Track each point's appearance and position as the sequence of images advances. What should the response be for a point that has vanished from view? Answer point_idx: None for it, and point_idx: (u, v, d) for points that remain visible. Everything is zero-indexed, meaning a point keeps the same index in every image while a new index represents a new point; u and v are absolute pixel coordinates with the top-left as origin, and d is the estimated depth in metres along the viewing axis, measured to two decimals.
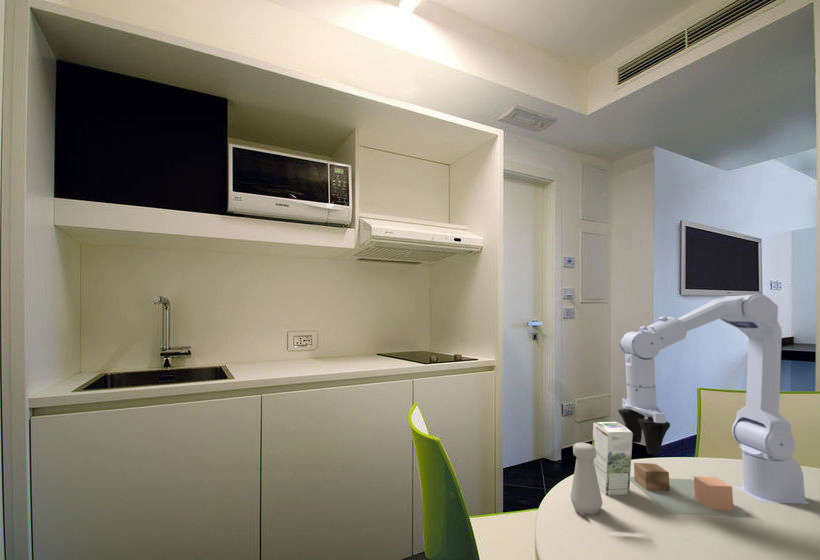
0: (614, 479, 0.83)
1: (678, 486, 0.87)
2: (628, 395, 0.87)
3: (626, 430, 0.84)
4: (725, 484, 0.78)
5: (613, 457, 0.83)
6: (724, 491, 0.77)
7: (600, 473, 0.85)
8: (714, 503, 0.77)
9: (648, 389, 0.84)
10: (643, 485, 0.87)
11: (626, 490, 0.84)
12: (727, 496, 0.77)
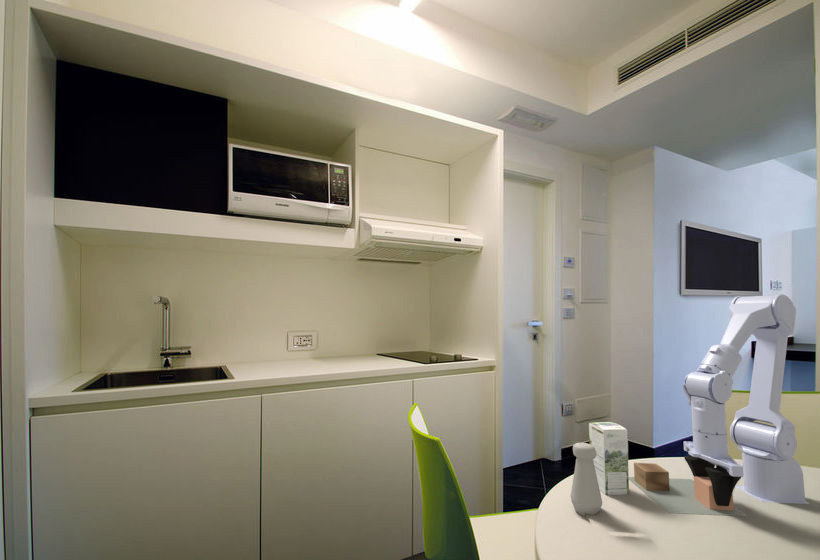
0: (612, 478, 0.84)
1: (678, 486, 0.87)
2: (695, 441, 0.81)
3: (621, 427, 0.86)
4: None
5: (610, 455, 0.84)
6: None
7: (599, 473, 0.85)
8: (714, 503, 0.77)
9: (720, 437, 0.78)
10: (643, 485, 0.87)
11: (625, 490, 0.84)
12: None
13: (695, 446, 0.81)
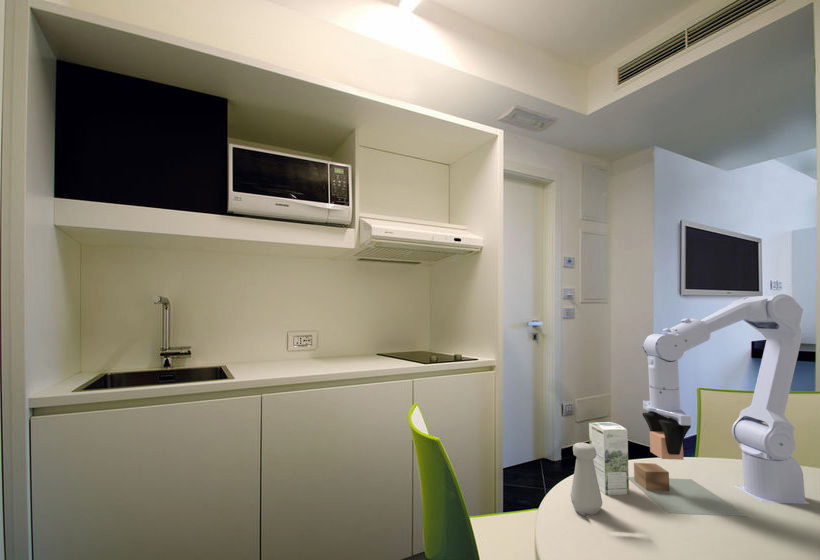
0: (612, 478, 0.84)
1: (678, 486, 0.87)
2: (651, 397, 0.87)
3: (621, 427, 0.86)
4: None
5: (610, 455, 0.84)
6: None
7: (599, 473, 0.85)
8: (666, 453, 0.84)
9: (672, 391, 0.84)
10: (643, 485, 0.87)
11: (625, 490, 0.84)
12: None
13: (651, 402, 0.87)
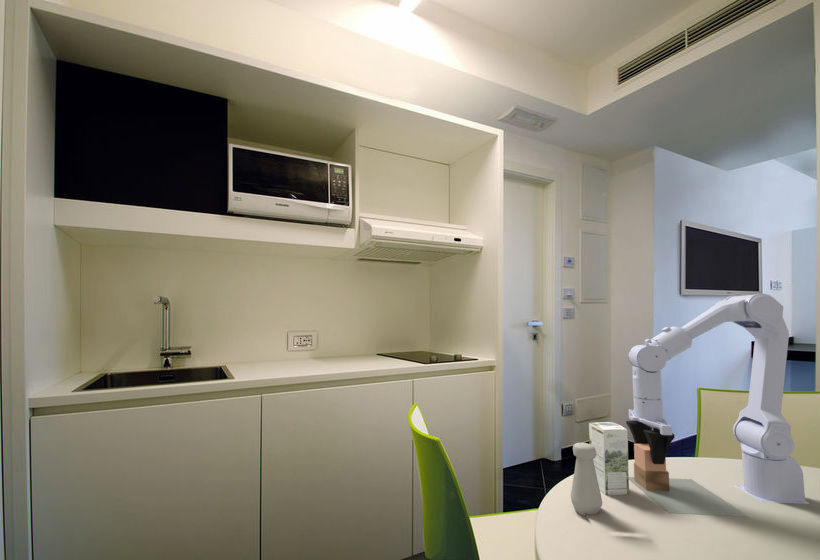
0: (612, 478, 0.84)
1: (678, 486, 0.87)
2: (635, 406, 0.90)
3: (621, 427, 0.86)
4: None
5: (610, 455, 0.84)
6: None
7: (599, 473, 0.85)
8: (649, 465, 0.86)
9: (655, 401, 0.87)
10: (643, 485, 0.87)
11: (625, 490, 0.84)
12: None
13: (635, 411, 0.90)
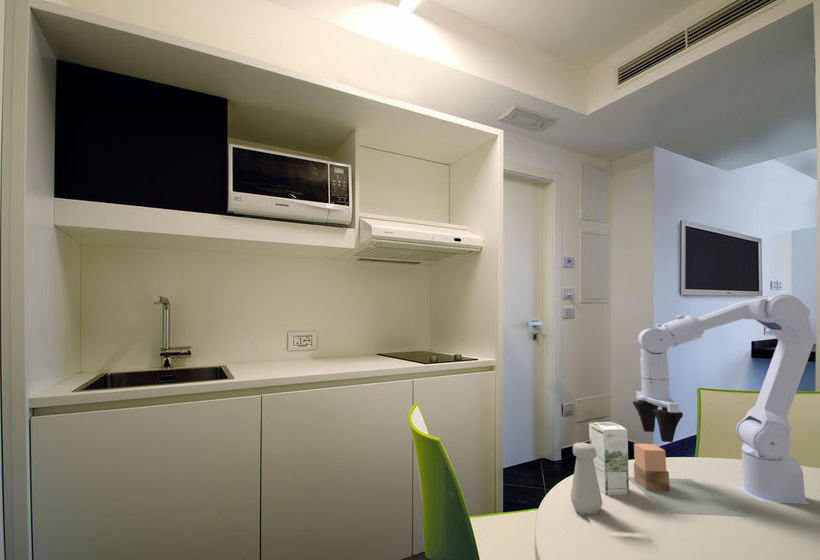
0: (612, 478, 0.84)
1: (678, 486, 0.87)
2: (643, 387, 0.94)
3: (621, 427, 0.86)
4: (660, 449, 0.87)
5: (610, 455, 0.84)
6: (658, 455, 0.86)
7: (599, 473, 0.85)
8: (649, 465, 0.86)
9: (662, 382, 0.91)
10: (643, 485, 0.87)
11: (625, 490, 0.84)
12: (661, 459, 0.86)
13: (643, 391, 0.94)
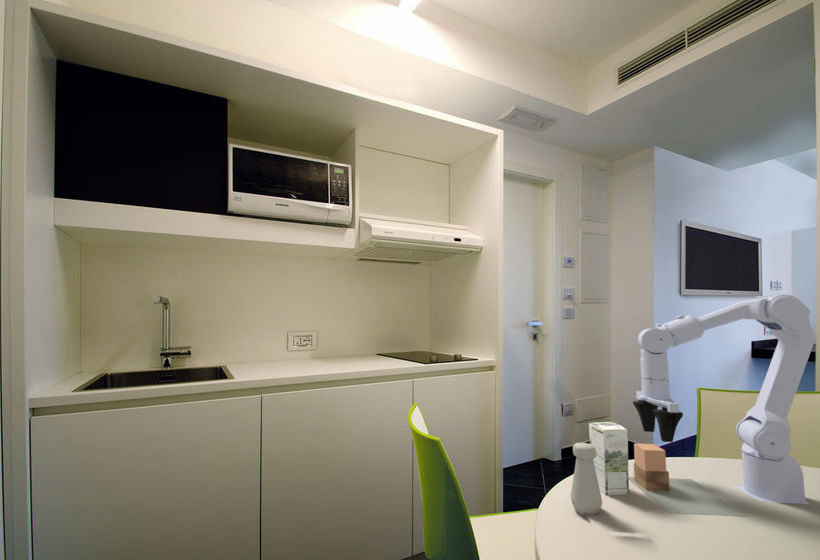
0: (612, 478, 0.84)
1: (678, 486, 0.87)
2: (643, 387, 0.94)
3: (621, 427, 0.86)
4: (660, 449, 0.87)
5: (610, 455, 0.84)
6: (658, 455, 0.86)
7: (599, 473, 0.85)
8: (649, 465, 0.86)
9: (662, 382, 0.91)
10: (643, 485, 0.87)
11: (625, 490, 0.84)
12: (661, 459, 0.86)
13: (643, 391, 0.94)
